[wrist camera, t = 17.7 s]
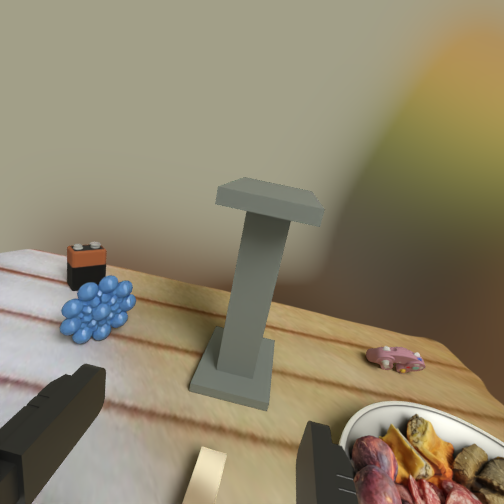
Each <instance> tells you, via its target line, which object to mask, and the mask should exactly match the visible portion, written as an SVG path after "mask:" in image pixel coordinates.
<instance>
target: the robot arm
mask: <svg viewBox="0 0 504 504" xmlns="http://www.w3.org/2000/svg"><path fill="white" fill-rule="evenodd" d="M105 379H106V370H105V369H104V368H101V367H97V366H93V365H89V364H84V365H82V366H81V367H80V368H79V369H78V370H77V371H76V372H75V373H74V374H73V375H72V376H71V375H67V374H65V375H63V376H61V377H60V378H58V379H56V380H54V381H52V382H50V383H49V384H48V385H47V386H46V387H45V388H44V389H43V390H42V391H40V392H39V393H38V395H37V396H35V397H34V398H33V399H32V400H31V401H30V402H29V403H28V404H27V406H24V407H23V408H22V409H21V410H20V411H19V412H18V413H17V414H16V415H15V416H13V417H12V418H11V419H10V420H9V421H8V422H7V423H6V424H5V425H4V426H3V427H2V428H1V429H0V504H31V503H32V502H33V501H34V499H35V498H36V497H37V495H38V494H39V493H40V491H41V490H42V489H43V487H44V486H45V485H46V483H47V482H48V481H49V479H50V478H51V477H52V475H53V474H54V473H55V471H56V470H57V469H58V467H59V466H60V465H61V463H62V462H63V461H64V459H65V458H66V457H67V455H68V454H69V453H70V452H71V450H72V449H73V448H74V446H75V445H76V444H77V442H78V441H79V440H80V438H81V437H82V436H83V434H84V433H85V432H86V430H87V429H88V428H89V426H90V425H91V424H92V422H93V421H94V420H95V418H96V417H97V416H98V414H99V412H100V411H101V408H102V406H103V403H104V399H105ZM296 504H359V503H358V498H357V495H356V488H355V483H354V481H353V473H352V468H351V463H350V460H349V458H348V456H347V455H346V453H345V451H344V449H343V447H342V446H340V445H336V444H333V443H332V439H331V432H330V428H329V426H327V425H323V424H320V423H316V422H312V421H308V423H307V425H306V428H305V431H304V434H303V437H302V440H301V443H300V446H299V449H298V453H297V459H296Z"/></svg>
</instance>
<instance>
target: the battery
mask: <svg viewBox="0 0 504 504" xmlns="http://www.w3.org/2000/svg"><path fill="white" fill-rule="evenodd" d="M105 276H106V250H105V249H104V248H103V247H102V246H101V244H100V243H99V242H92V243H90V245H82V244H74V246H68V247H67V283H68V284H69V286H70V287H71V289H72V290H73V291H77V290H79V289H80V287H81V286H82V285H84V284H86V283H89V282H93V283H95V284H97V285H99V282H100V281H101V280H102V279H103V278H104V277H105Z"/></svg>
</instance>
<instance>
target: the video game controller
mask: <svg viewBox="0 0 504 504" xmlns="http://www.w3.org/2000/svg"><path fill="white" fill-rule="evenodd" d="M366 358H367V359H368V361H370V362H374V363H378V364H379V365H381V368H382V369H385V370H389V369H392V368H393V363H397V364H396V365H395V366H396V371H397V372H399V373H406V372H409V371H420V370H423V369H424V368H425V364H424V361H423V359H422V358H421V356H420V355H419V353H413V352H412V351H410V350H408V349H406V348H403V347H387V346H386V347H379V348H375V349H368V350H367V352H366Z"/></svg>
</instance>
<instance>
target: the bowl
mask: <svg viewBox="0 0 504 504" xmlns="http://www.w3.org/2000/svg"><path fill="white" fill-rule="evenodd" d="M338 445H340V446H342V447H343V449H344V451H345V453H346V455H347V456H348V458H349V460H350V463H351V468H352V473H353V481H354V483H355V488H356V495H357V498H358V503H359V504H504V443H503V442H502V441H500V440H498V439H497V438H495V437H493V436H492V435H490V434H488V433H487V432H485V431H483V430H481V429H480V428H478V427H476V426H474V425H472V424H470V423H468V422H466V421H464V420H462V419H460V418H458V417H455V416H453V415H451V414H448V413H446V412H443V411H440V410H437V409H434V408H431V407H428V406H424V405H420V404H416V403H410V402H403V401H385V402H378V403H374V404H371V405H368V406H366V407H364V408H362V409H361V410H359V411H358V412H356V413H355V414H354V415H353V416H352V417H351V418H350V420H349V421H348V423H347V424H346V426H345V428H344V430H343V432H342V435H341V438H340V440H339V444H338Z"/></svg>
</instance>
